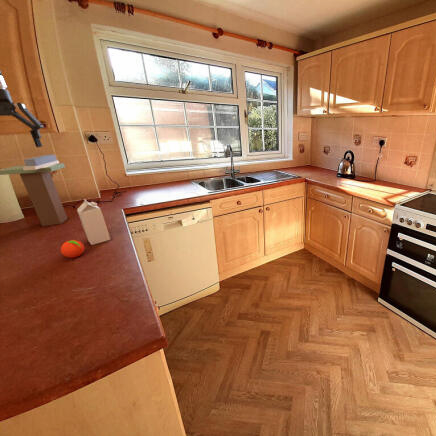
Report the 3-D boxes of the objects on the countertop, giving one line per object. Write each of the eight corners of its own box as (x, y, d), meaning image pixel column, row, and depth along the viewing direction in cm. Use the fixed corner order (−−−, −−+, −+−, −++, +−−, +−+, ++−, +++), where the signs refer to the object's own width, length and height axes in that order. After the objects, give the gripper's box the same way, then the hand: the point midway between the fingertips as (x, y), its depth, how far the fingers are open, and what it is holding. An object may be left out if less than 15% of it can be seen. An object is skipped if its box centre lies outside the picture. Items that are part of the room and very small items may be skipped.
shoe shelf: (71, 224, 128) (49, 167, 117) (22, 230, 122) (-6, 170, 111) (82, 215, 141) (63, 163, 130) (39, 220, 135) (15, 165, 124)
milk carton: (91, 245, 106) (76, 204, 99) (88, 240, 110) (73, 200, 103) (110, 240, 110) (97, 200, 103) (106, 235, 115) (94, 197, 108)
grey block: (35, 169, 112) (31, 159, 110) (23, 170, 111) (19, 160, 109) (59, 162, 131) (56, 154, 129) (49, 163, 130) (45, 154, 128)
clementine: (93, 253, 99) (87, 237, 97) (76, 262, 93) (69, 245, 90) (77, 251, 101) (71, 236, 98) (59, 260, 95) (52, 243, 92)
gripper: (-64, 86, 83) (-32, 150, 91) (30, 88, 91) (51, 146, 99) (-45, 89, 90) (-17, 148, 97) (41, 90, 97) (60, 145, 105)
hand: (18, 147), depth 98 cm, fingers open, 13 cm apart
